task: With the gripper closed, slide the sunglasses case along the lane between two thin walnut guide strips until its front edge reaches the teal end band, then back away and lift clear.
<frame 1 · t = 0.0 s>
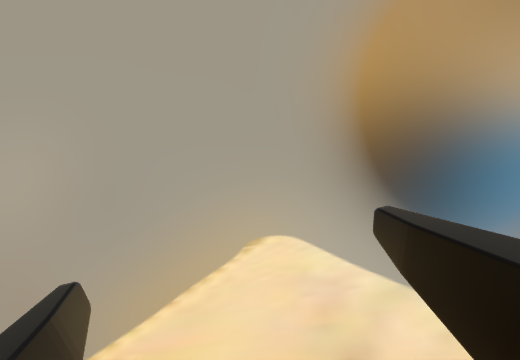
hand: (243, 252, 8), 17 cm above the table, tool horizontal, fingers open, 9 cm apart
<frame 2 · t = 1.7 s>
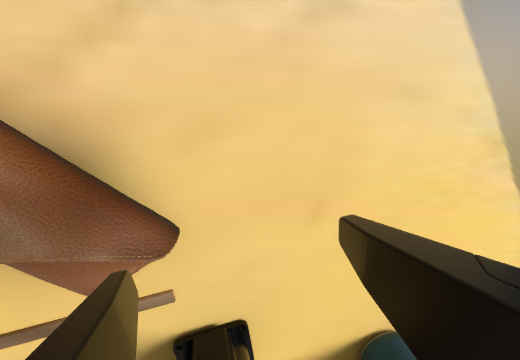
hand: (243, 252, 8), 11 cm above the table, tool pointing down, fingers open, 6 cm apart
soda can: (380, 346, 32), on the table
sunglasses case: (21, 191, 17), on the table
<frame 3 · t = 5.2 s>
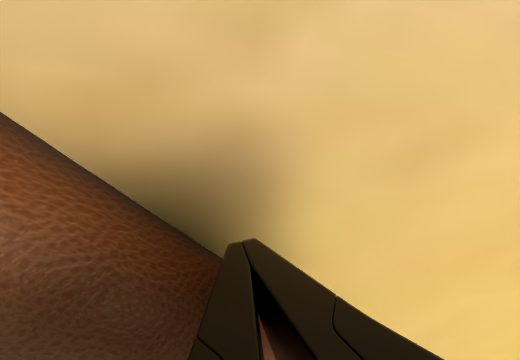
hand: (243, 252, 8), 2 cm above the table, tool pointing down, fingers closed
sunglasses case: (110, 285, 10), on the table
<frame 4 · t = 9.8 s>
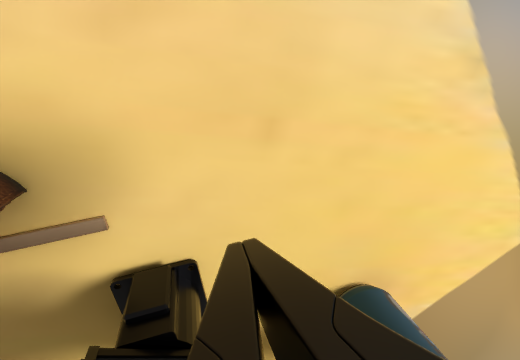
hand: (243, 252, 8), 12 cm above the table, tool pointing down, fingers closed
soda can: (354, 303, 30), on the table
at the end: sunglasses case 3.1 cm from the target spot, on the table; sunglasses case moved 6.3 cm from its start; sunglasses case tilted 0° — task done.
